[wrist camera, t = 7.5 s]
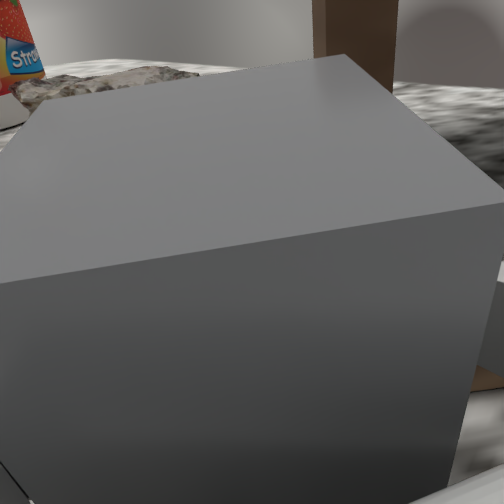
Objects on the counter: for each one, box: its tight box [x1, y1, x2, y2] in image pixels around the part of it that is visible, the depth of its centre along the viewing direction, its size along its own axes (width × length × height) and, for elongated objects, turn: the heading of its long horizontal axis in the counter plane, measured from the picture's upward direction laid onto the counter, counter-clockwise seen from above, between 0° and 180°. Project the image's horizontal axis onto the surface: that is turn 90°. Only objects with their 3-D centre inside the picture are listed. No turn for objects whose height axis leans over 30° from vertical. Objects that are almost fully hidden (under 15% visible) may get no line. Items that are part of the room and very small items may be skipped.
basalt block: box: [0, 54, 504, 504], centre depth 8 cm, size 5×5×9 cm
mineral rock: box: [8, 66, 199, 117], centre depth 31 cm, size 15×8×4 cm, turn 70°
